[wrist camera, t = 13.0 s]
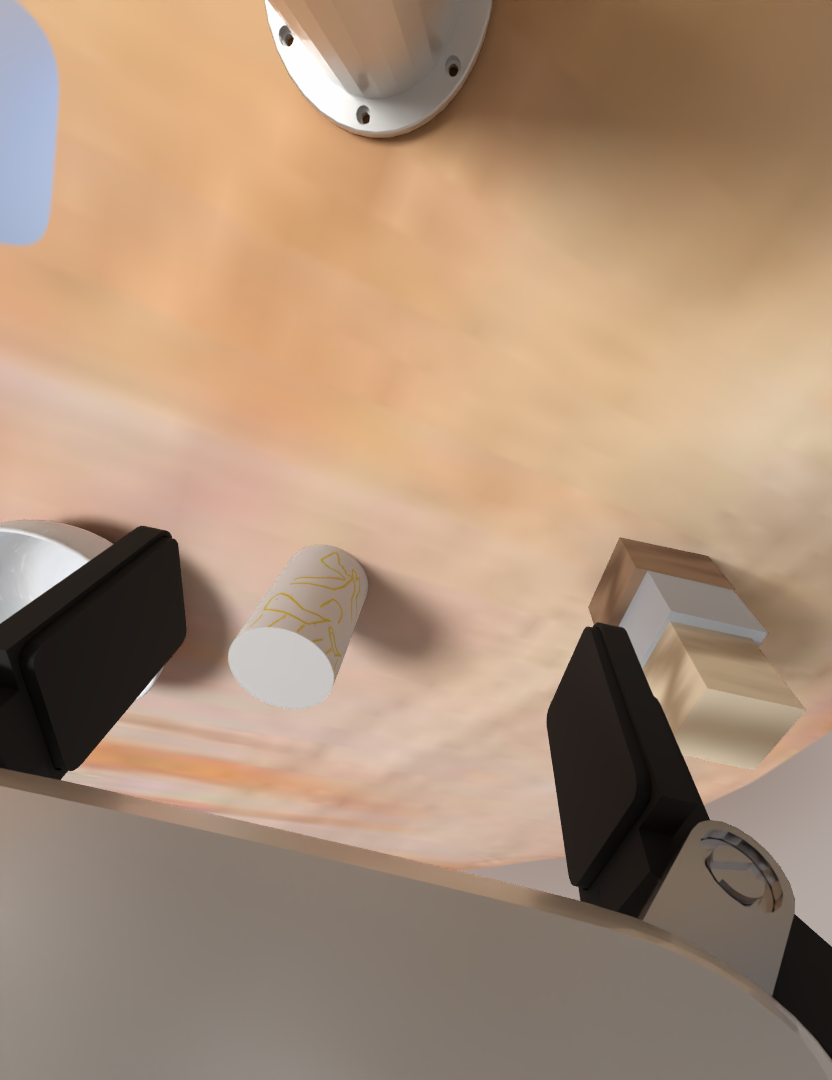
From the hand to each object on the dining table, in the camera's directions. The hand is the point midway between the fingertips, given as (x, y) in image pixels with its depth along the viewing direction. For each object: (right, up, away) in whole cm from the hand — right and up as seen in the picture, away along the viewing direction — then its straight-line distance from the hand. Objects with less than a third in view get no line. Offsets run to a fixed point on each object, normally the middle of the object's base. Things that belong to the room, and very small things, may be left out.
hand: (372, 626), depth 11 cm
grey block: (+21, -4, +26) cm, 34 cm away
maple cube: (+20, -6, +22) cm, 30 cm away
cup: (-8, -2, +35) cm, 36 cm away
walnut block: (+21, -2, +31) cm, 37 cm away
